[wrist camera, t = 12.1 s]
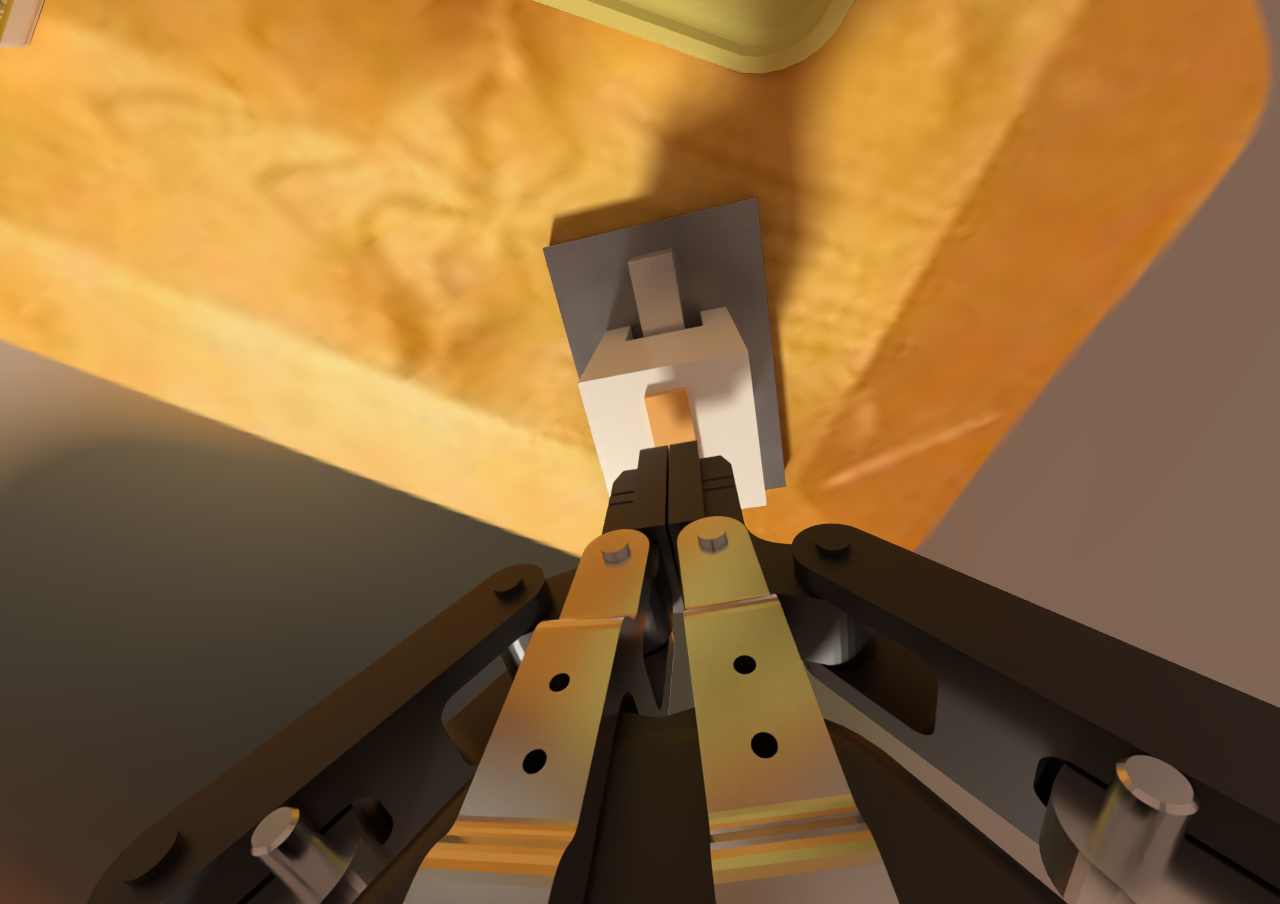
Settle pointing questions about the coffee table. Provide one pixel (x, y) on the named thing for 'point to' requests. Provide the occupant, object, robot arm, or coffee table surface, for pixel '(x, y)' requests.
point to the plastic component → (723, 27)
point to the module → (675, 399)
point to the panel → (675, 294)
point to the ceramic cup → (18, 21)
